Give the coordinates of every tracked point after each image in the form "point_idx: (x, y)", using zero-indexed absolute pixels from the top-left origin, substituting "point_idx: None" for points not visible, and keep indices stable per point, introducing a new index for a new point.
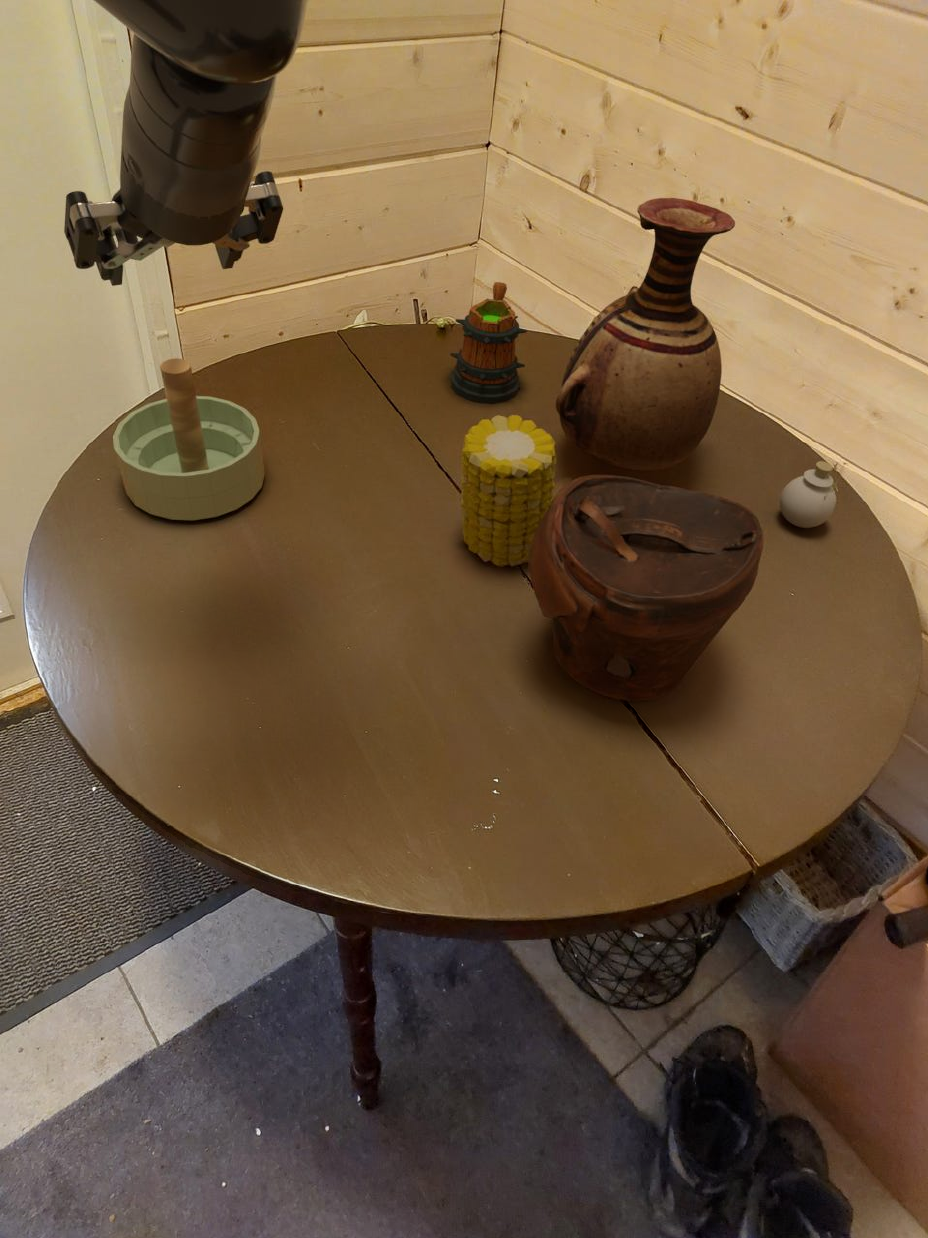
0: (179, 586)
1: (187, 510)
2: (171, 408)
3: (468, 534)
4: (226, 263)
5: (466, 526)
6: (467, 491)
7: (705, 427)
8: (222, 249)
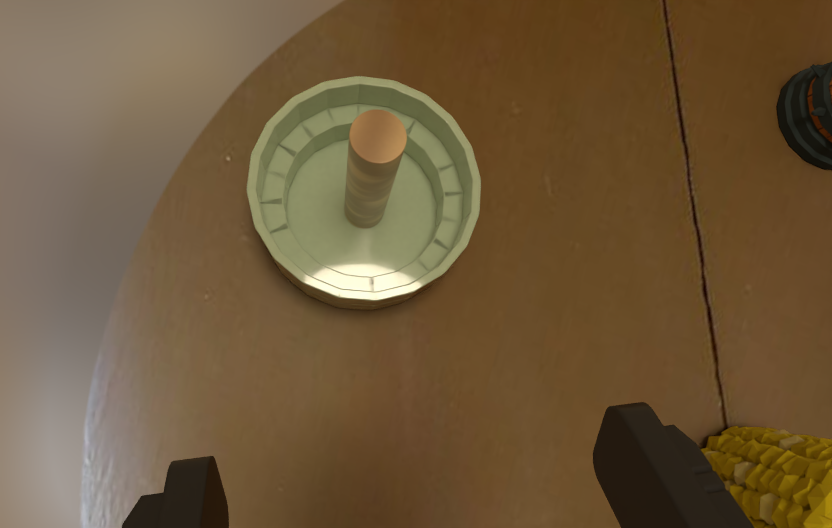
0: (288, 435)
1: (332, 303)
2: (351, 176)
3: None
4: (621, 524)
5: None
6: (755, 517)
7: None
8: (638, 511)
